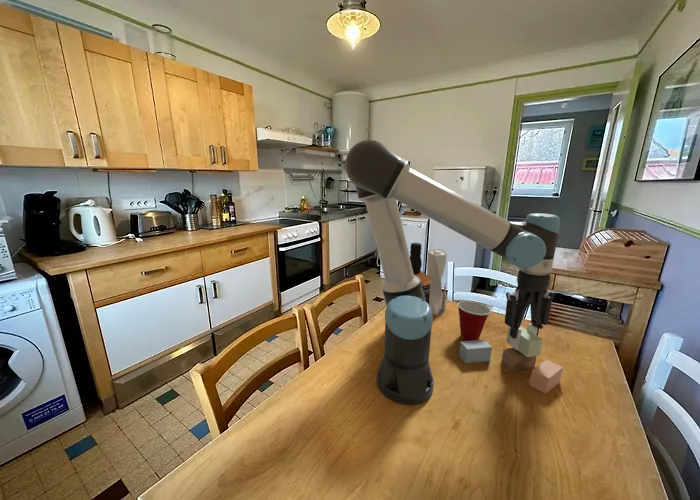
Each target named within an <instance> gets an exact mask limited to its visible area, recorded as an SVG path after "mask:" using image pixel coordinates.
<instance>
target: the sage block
mask: <svg viewBox="0 0 700 500" xmlns="http://www.w3.org/2000/svg"><path fill="white" fill-rule="evenodd" d="M510 328H511V327H509V326H508V327H507V334H506V335H507V336H506V343H507V344H509V345H510V340H511V336H510ZM520 329H522V332H521V338H520V344H519V350H518V351H519V352H521V353H522V354H524V355H525V356H526V357H533V356H537V357H538V356H539V357H540V355H541V349H542V343H543V339H542V338H541V337H539V336H536V335H534V334H533V333H531V332H529V331H528V330H527V329H526V328H525V327H523V326H522V325H520Z"/></svg>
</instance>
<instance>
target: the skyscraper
mask: <svg viewBox="0 0 700 500" xmlns="http://www.w3.org/2000/svg"><path fill="white" fill-rule="evenodd" d="M447 256H448V254H447V251H446V250H443V248H442V249H440V248H436V249H429V250H428V251H427V260H426V261H427V263H426V274H427V275H428V276H430V277H431V279H432V281H431V284H430V296H429V306H430V307H431V310H432V316H437V317H440V318H441V317H443V315H444V314H445V312H446V303H447V286H446V285H447V283H446V282H444V287H442V286H443V285H442V280H443V276H444V272H445V269H446V264H447V258H448V257H447ZM442 289H443V291H442Z"/></svg>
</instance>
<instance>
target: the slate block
mask: <svg viewBox="0 0 700 500" xmlns="http://www.w3.org/2000/svg"><path fill="white" fill-rule="evenodd" d="M459 343H460V344H459V353H458V356H459V357H460V359H462V361H463V363H465V364H472V363H484V362H491V357H492V349H493V346H492V345H490V343H488V342H487V340H486V339H478V340H474V341H466V340H464V341H460V342H459Z"/></svg>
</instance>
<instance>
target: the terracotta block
mask: <svg viewBox="0 0 700 500" xmlns="http://www.w3.org/2000/svg"><path fill="white" fill-rule="evenodd" d="M531 370H532V371H531V375H530V380H529V384H528V385H529V386H530V387H532V388H534V389H535V390H538V391H540V392H541V393H542V394H545V395H546V394H548V393H549V392H550V391H551V390H552V389H554V388H555V387H556V386H558V385H559V384H560V382H561V379H562V375H563V370H564V367H563V366H561V365H559V364H558V363H555V362H553V361H551V360H550V359H545V360H544V361H542V362H541V363H539V365H538V364H537V366H535V367H534V368H531Z"/></svg>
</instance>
